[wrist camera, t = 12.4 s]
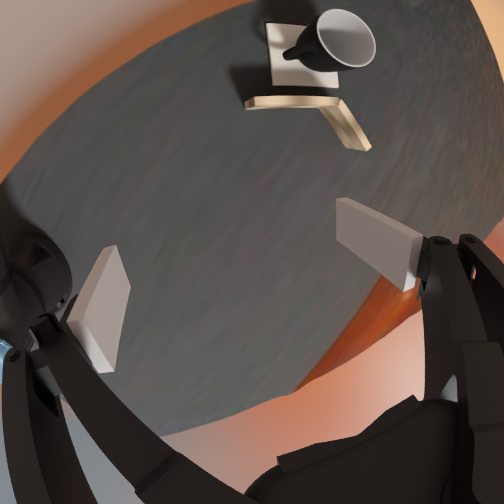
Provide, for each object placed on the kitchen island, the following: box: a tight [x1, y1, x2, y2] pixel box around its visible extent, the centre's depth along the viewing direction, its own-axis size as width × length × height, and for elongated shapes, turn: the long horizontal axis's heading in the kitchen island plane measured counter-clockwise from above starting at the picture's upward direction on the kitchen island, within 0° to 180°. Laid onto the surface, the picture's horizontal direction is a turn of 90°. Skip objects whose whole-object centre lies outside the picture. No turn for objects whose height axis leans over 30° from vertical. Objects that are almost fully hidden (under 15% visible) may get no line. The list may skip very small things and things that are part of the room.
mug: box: [282, 9, 376, 72], centre depth 28 cm, size 12×9×10 cm
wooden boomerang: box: [244, 96, 371, 151], centre depth 35 cm, size 18×8×6 cm, turn 95°
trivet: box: [266, 23, 339, 88], centre depth 33 cm, size 11×11×1 cm
